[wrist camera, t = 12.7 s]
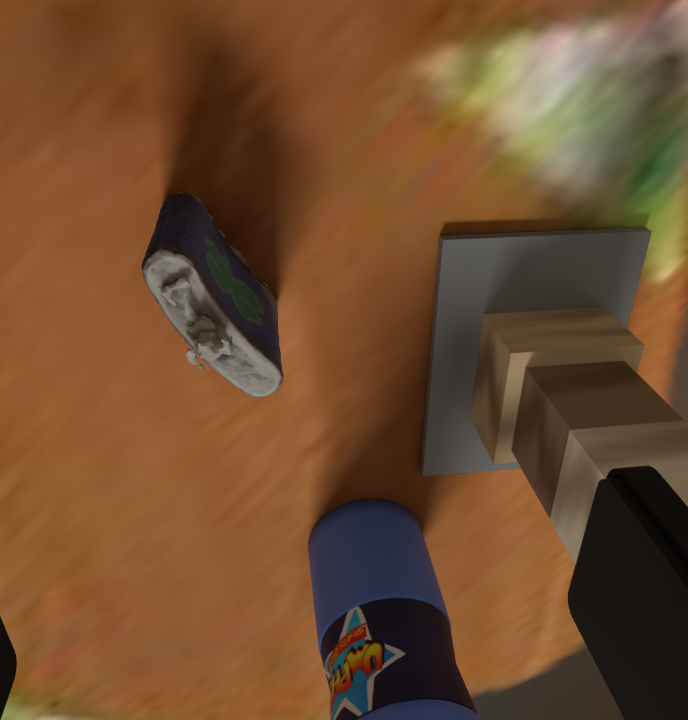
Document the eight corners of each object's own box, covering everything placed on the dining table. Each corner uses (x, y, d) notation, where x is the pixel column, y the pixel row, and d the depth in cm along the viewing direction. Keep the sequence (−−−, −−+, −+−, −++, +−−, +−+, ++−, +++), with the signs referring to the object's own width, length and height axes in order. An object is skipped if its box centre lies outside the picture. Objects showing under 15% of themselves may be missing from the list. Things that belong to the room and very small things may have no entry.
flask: (285, 306, 39) (295, 405, 29) (246, 331, 39) (244, 435, 30) (188, 180, 34) (164, 250, 25) (145, 210, 35) (106, 289, 25)
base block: (483, 314, 40) (510, 353, 35) (603, 307, 40) (644, 344, 36) (469, 417, 44) (493, 463, 39) (579, 409, 45) (614, 454, 40)
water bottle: (446, 529, 50) (592, 930, 29) (369, 597, 53) (449, 1006, 32) (360, 478, 46) (454, 897, 25) (282, 554, 49) (306, 987, 28)
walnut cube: (525, 367, 36) (571, 429, 31) (624, 360, 37) (685, 421, 31) (511, 450, 39) (550, 519, 34) (602, 442, 40) (654, 509, 35)
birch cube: (569, 429, 31) (633, 517, 26) (683, 420, 31) (768, 503, 26) (549, 519, 34) (602, 614, 29) (654, 509, 34) (724, 600, 29)
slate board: (439, 235, 37) (443, 240, 37) (644, 227, 39) (651, 231, 38) (420, 469, 47) (422, 476, 46) (586, 455, 48) (591, 462, 47)
